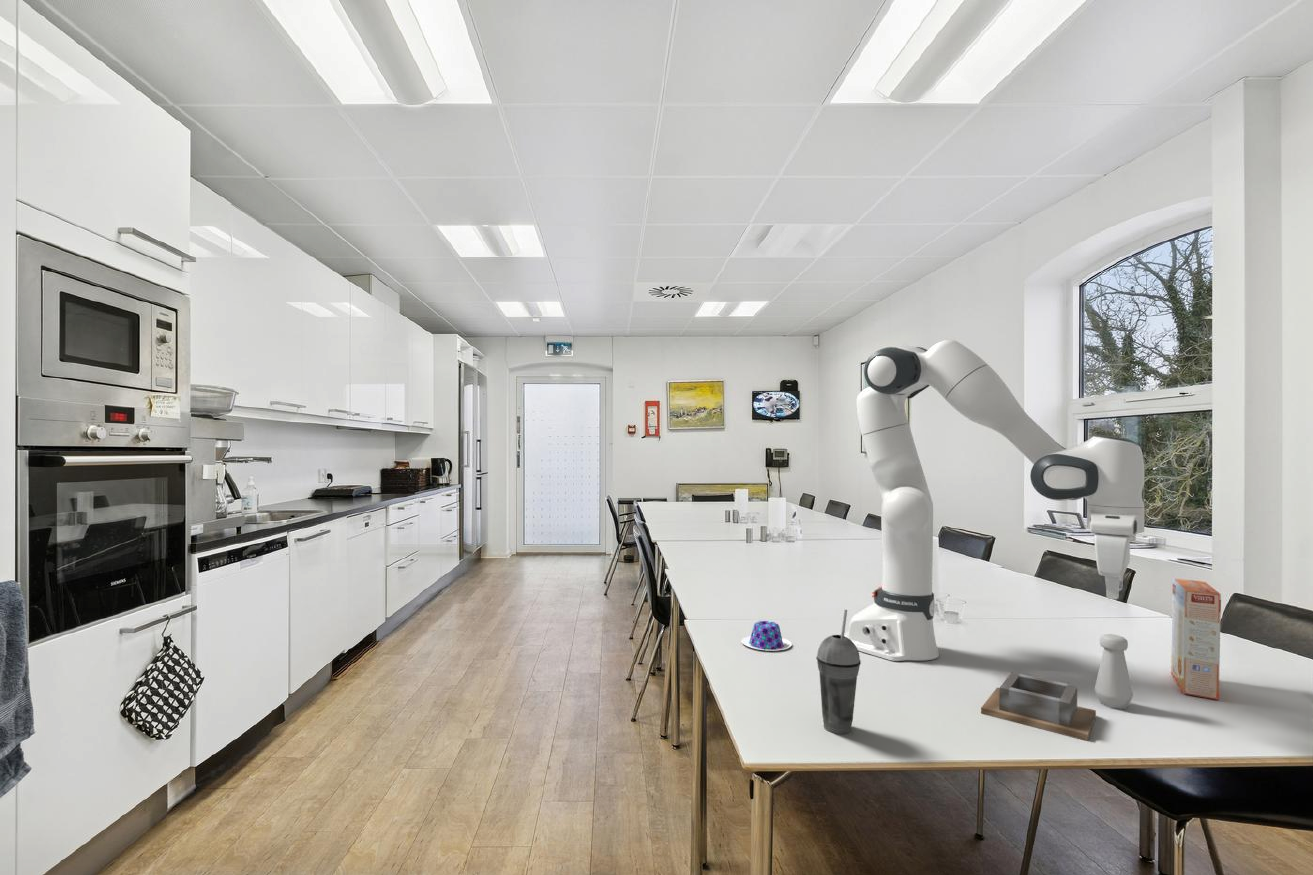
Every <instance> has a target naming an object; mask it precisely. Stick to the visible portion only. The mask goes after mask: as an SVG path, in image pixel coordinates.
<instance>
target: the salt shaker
mask: <svg viewBox="0 0 1313 875" xmlns="http://www.w3.org/2000/svg"><path fill="white" fill-rule="evenodd" d="M1099 644H1100V646H1101V647H1102V648H1103V650H1102V656H1101V659H1100V664H1099V669H1098V673H1097V677H1096V681H1095V684H1094V692H1095V694H1096V695H1097V698H1098V700H1099V702H1100V704H1101V705H1102V704H1103V706H1105V707H1107V706H1108V708H1110V707H1111V708H1110V709H1116V708H1117V710H1124V709H1127V708H1128V706H1129V705H1130V703H1131V701H1132V699H1133V697H1134V694H1133V689H1132V685H1131V684H1132V683H1131V680H1130V675H1129V670H1128V666H1127V661H1126V660H1127V659H1126V656H1125V651H1127V650H1128V648H1129V643H1128V639H1126V637H1124V636H1120V635H1118V634H1112V633H1103V634H1102V635H1100V638H1099ZM1126 707H1127V708H1126Z"/></svg>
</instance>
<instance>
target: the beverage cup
mask: <svg viewBox="0 0 1313 875" xmlns="http://www.w3.org/2000/svg"><path fill="white" fill-rule="evenodd" d="M847 617H848V610H847V609H844V610H843V619H842V626H841V634H832V635H830V636H828V637H826V638H824V639H823V641H821V643H820V645H819V647H818V650H817V654H816V657H815V658H816V662H817V668H818V669H817V670H818V671H819V683H820V700H821V713H822V722H823V729H824V730H826V731H827V732H829V733H831V734H836V735H845V734H849V733H851V731H852V725H853V720H854V710H855V709H854V708H855V701H856V691H857V680H858V675H859V671H860V665H861V664H862V661H861V656H860V651H858V649H857V647H856V646H855V644H854V643H853V642H852V641H851V640H850V639H849V638H847V637H845V636H844V633H846V632H845V631H846V624H847Z"/></svg>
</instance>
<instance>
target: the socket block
mask: <svg viewBox="0 0 1313 875" xmlns="http://www.w3.org/2000/svg"><path fill="white" fill-rule="evenodd" d="M980 714H982V715H986V716H990V717H994V718H998V719H1003V720H1005V721H1009V722H1013V723H1017V724H1022V725H1025V726H1029V727H1032V728H1036V729H1041V730H1044V731H1048V732H1052V733H1056V734H1059V735H1060V734H1061V735H1064V736H1067V737H1070V738H1071V737H1072V738H1074V739H1080V740H1083V741H1085V742H1086V741H1087V742H1088V741H1089V738H1090V734H1091V732H1092V729H1093V725H1094V724H1095V719H1096V717H1095V716H1097V710H1096V709H1092V708H1087V707H1082V706H1078V685H1074V684H1070V683H1065V682H1061V681H1060V682H1059V681H1056V680H1055V681H1054V680H1051V679H1047V678H1041V677H1038V676H1037V677H1036V676H1032V675H1028V674H1025V673H1024V674H1022V673H1017V672H1014V671H1012V672H1010V673H1009V675H1008V676H1007V677H1006V679H1005V680H1004V681H1003V682H1002V684H1000V686H999V687H996V688H995V690H994V691H993V692H992V693H991V695H990V696H989V697H988V698H987V700H986V701H985V702H984V703H983V704H982V706H981V707H980Z"/></svg>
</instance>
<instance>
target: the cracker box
mask: <svg viewBox="0 0 1313 875" xmlns="http://www.w3.org/2000/svg"><path fill="white" fill-rule="evenodd" d="M1171 603H1172V610H1171V611H1172V612H1171V613H1172V616H1171V654H1170V655H1171V659H1170V663H1171V665H1170V674H1171V676H1172V678H1173V679H1174V681H1175V683H1176V684H1177V687H1179V689H1180V690H1181V693H1182V694H1185V695H1190V696H1193V697H1199V698H1206V699H1209V700H1217V701H1219V699H1220V666H1221V665H1220V664H1221V663H1220V660H1221V658H1220V657H1221V649H1220V648H1221V614H1222V613H1221V612H1222V611H1221V610H1222V593H1220V592H1219V591H1218V590H1216V589H1215V588H1214V587H1212V586H1211V585H1210V584H1208V583H1207V582H1206V581H1200V580H1192V579H1191V580H1190V579H1181V578H1173V579H1172V602H1171Z"/></svg>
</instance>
